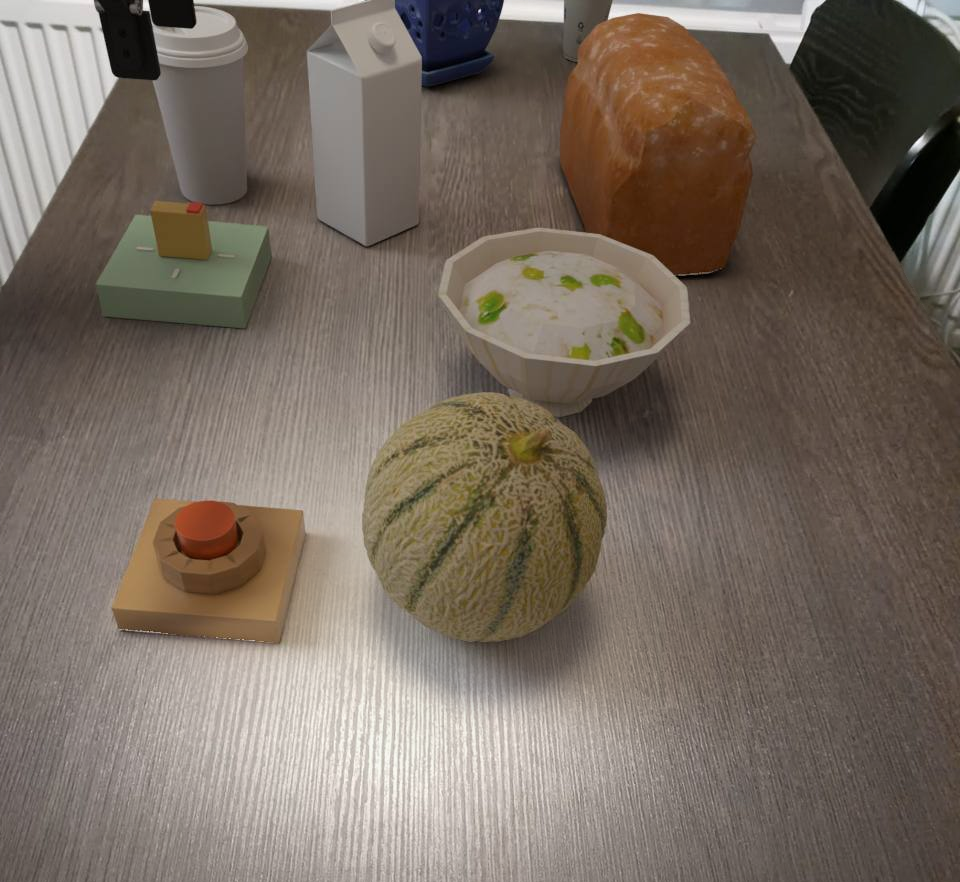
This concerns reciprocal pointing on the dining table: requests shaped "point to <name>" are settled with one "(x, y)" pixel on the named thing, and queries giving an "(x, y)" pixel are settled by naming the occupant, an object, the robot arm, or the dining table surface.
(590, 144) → the bread
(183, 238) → the wooden block red tab
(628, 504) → the dining table surface
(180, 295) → the plate
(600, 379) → the bowl
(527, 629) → the cantaloupe
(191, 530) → the bell button
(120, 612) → the tan square stand
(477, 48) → the flower pot
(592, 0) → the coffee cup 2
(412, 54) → the milk carton
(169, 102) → the coffee cup
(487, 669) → the dining table surface
